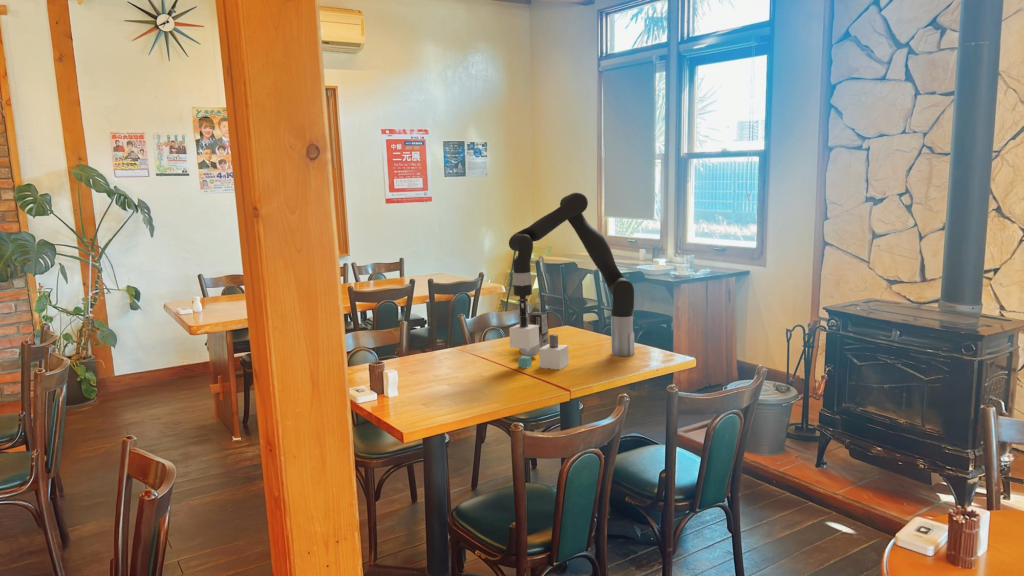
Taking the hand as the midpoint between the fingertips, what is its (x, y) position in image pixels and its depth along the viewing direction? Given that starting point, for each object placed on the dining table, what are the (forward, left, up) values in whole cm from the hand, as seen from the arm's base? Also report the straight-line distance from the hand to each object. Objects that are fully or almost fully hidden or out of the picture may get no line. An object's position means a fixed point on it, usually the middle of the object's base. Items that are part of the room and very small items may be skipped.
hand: (524, 324), depth 273 cm
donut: (+6, -16, -18) cm, 24 cm away
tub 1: (0, 0, -9) cm, 9 cm away
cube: (0, 0, -18) cm, 18 cm away
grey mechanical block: (+11, -35, -18) cm, 40 cm away
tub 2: (-11, -5, -18) cm, 21 cm away
